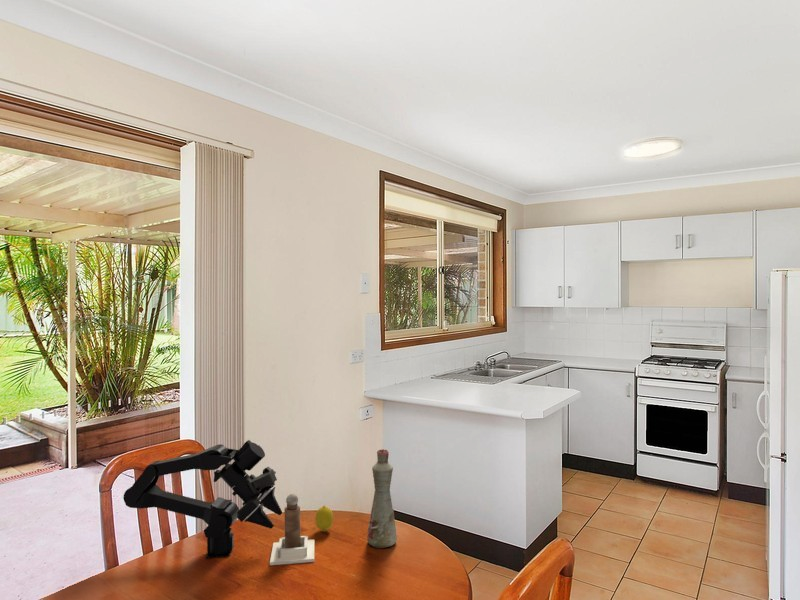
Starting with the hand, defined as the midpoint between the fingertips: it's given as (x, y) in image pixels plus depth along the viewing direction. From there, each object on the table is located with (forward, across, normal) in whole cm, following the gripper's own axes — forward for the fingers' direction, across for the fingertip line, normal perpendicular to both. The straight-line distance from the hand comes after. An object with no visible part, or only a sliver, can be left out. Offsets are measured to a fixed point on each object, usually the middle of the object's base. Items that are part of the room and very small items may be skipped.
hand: (277, 520), depth 150 cm
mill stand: (+10, 0, +3) cm, 10 cm away
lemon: (+14, +14, -1) cm, 20 cm away
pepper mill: (+9, 0, +3) cm, 10 cm away
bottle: (+28, +7, -15) cm, 32 cm away
